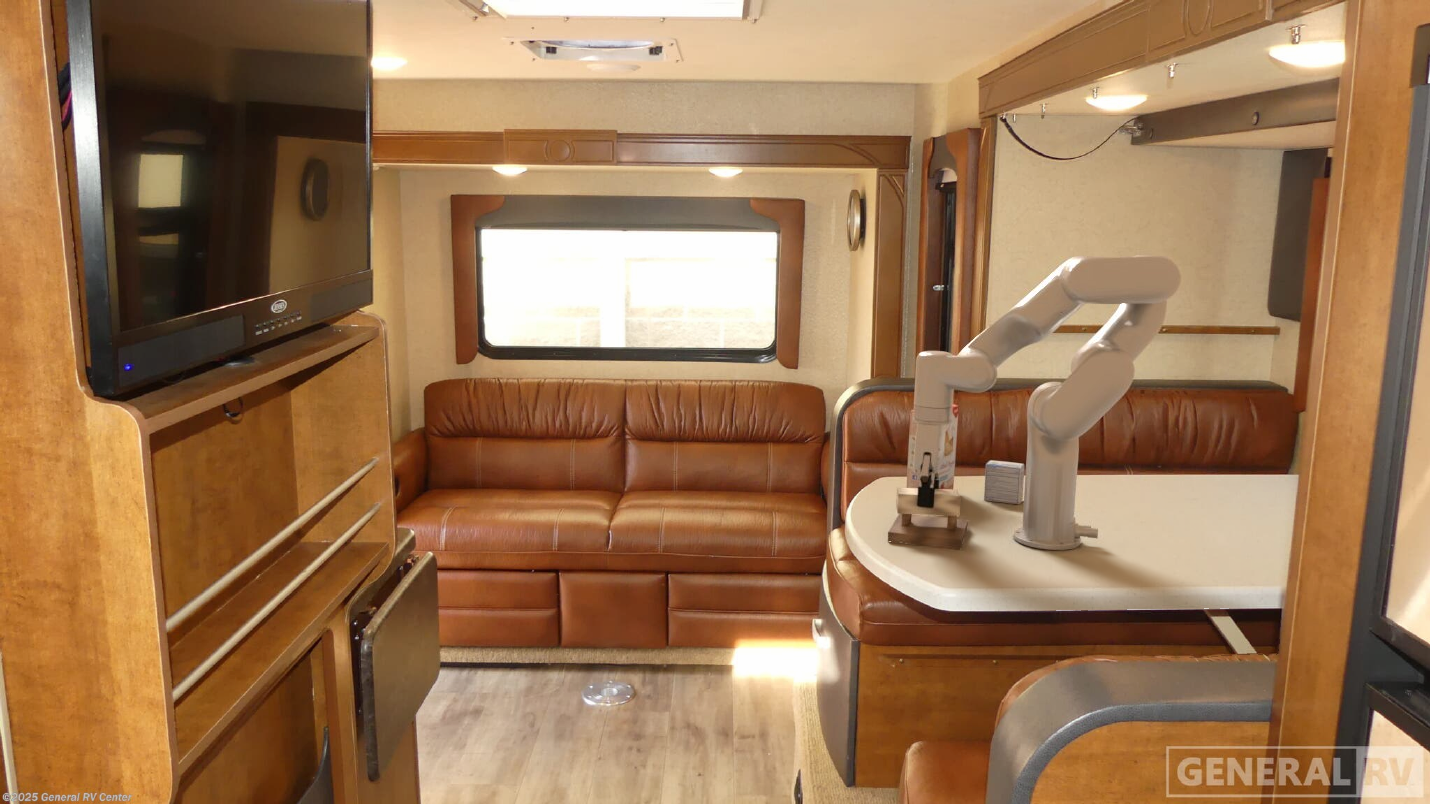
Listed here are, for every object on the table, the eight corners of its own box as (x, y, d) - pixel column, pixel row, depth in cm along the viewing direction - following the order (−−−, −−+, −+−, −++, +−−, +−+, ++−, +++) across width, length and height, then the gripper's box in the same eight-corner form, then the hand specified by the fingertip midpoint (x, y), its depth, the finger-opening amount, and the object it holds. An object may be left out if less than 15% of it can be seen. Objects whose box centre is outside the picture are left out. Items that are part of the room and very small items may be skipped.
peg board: (967, 529, 207) (968, 505, 206) (960, 549, 194) (961, 524, 193) (899, 522, 212) (900, 499, 211) (887, 541, 199) (888, 517, 198)
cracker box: (929, 505, 225) (933, 412, 222) (904, 500, 229) (908, 409, 225) (955, 492, 236) (959, 404, 233) (931, 488, 240) (935, 401, 236)
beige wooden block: (956, 509, 204) (957, 489, 203) (959, 516, 199) (960, 496, 198) (896, 506, 205) (896, 487, 205) (897, 513, 200) (898, 494, 200)
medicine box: (1023, 500, 229) (1025, 463, 228) (1019, 505, 226) (1021, 467, 224) (987, 496, 233) (989, 459, 232) (983, 500, 229) (985, 463, 228)
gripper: (919, 405, 208) (915, 490, 211) (906, 420, 192) (902, 512, 195) (956, 408, 206) (951, 494, 209) (947, 423, 190) (941, 516, 193)
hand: (927, 501), depth 202 cm, fingers open, 6 cm apart
